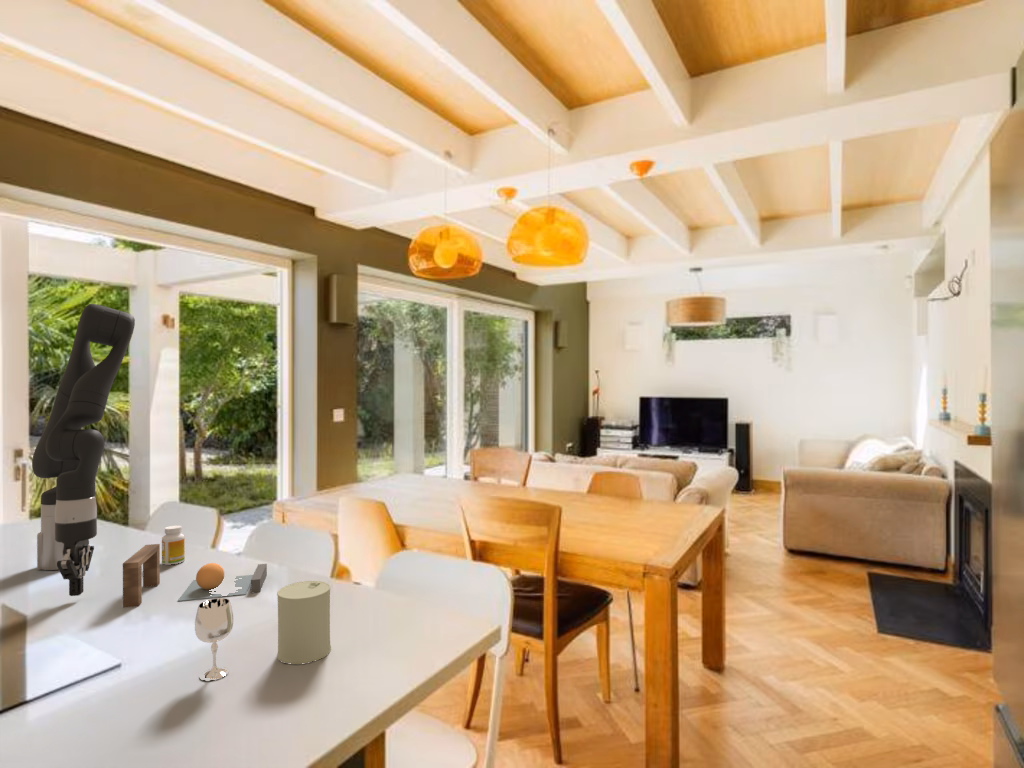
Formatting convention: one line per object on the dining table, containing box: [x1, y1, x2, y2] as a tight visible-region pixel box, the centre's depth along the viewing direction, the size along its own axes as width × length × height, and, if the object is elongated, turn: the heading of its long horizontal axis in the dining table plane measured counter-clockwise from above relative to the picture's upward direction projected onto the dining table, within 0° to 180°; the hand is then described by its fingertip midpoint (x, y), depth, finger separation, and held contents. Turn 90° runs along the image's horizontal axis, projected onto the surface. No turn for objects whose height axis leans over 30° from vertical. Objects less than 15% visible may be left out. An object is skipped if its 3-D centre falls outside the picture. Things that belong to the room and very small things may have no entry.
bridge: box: [122, 543, 161, 609], centre depth 132 cm, size 3×15×10 cm, turn 17°
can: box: [276, 580, 332, 665], centre depth 103 cm, size 9×9×12 cm
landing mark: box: [177, 574, 253, 602], centre depth 136 cm, size 14×14×1 cm
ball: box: [195, 562, 225, 590], centre depth 136 cm, size 6×6×6 cm
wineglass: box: [194, 597, 234, 679], centre depth 95 cm, size 6×6×12 cm
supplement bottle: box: [161, 525, 186, 566], centre depth 156 cm, size 5×5×10 cm
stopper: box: [250, 563, 268, 594], centre depth 139 cm, size 2×12×3 cm, turn 17°
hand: (76, 594), depth 128 cm, fingers closed
